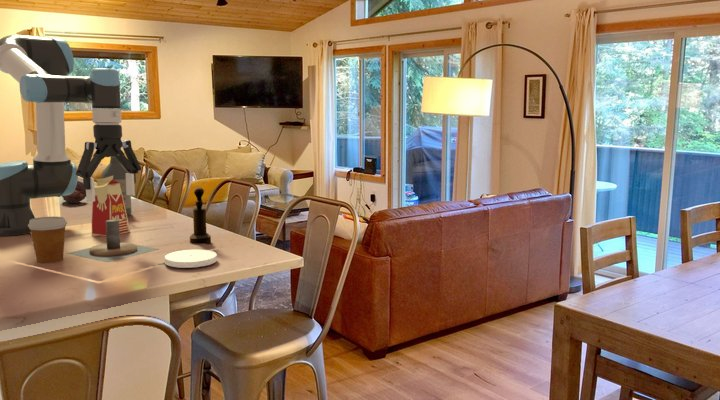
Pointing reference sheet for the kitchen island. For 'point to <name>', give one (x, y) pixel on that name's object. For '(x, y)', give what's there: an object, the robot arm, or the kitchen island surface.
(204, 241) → the black pedestal statuette
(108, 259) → the slate mat
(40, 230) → the disposable coffee cup
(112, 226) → the wooden lid with knob
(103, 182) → the milk carton
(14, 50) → the robot arm
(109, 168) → the liquor
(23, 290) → the kitchen island surface
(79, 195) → the pine cone
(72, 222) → the kitchen island surface
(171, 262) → the plastic lid
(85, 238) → the kitchen island surface
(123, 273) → the kitchen island surface
